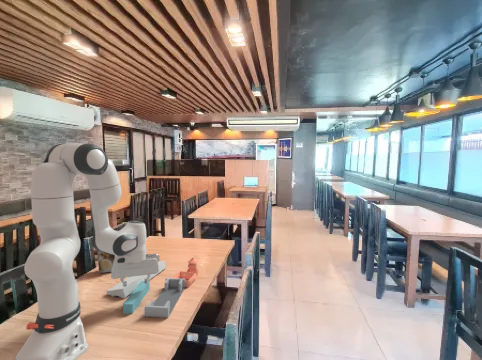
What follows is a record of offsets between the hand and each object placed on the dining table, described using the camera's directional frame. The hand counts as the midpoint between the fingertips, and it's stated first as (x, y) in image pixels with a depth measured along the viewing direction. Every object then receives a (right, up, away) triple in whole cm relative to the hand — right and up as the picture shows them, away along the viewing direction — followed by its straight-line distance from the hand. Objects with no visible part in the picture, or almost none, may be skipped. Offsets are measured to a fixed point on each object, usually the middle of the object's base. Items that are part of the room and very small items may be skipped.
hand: (135, 284), depth 115 cm
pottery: (+20, -7, +22) cm, 30 cm away
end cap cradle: (+15, -8, 0) cm, 17 cm away
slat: (+1, -8, 0) cm, 8 cm away
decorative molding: (-11, -6, +21) cm, 24 cm away
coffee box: (-30, -5, +32) cm, 44 cm away
